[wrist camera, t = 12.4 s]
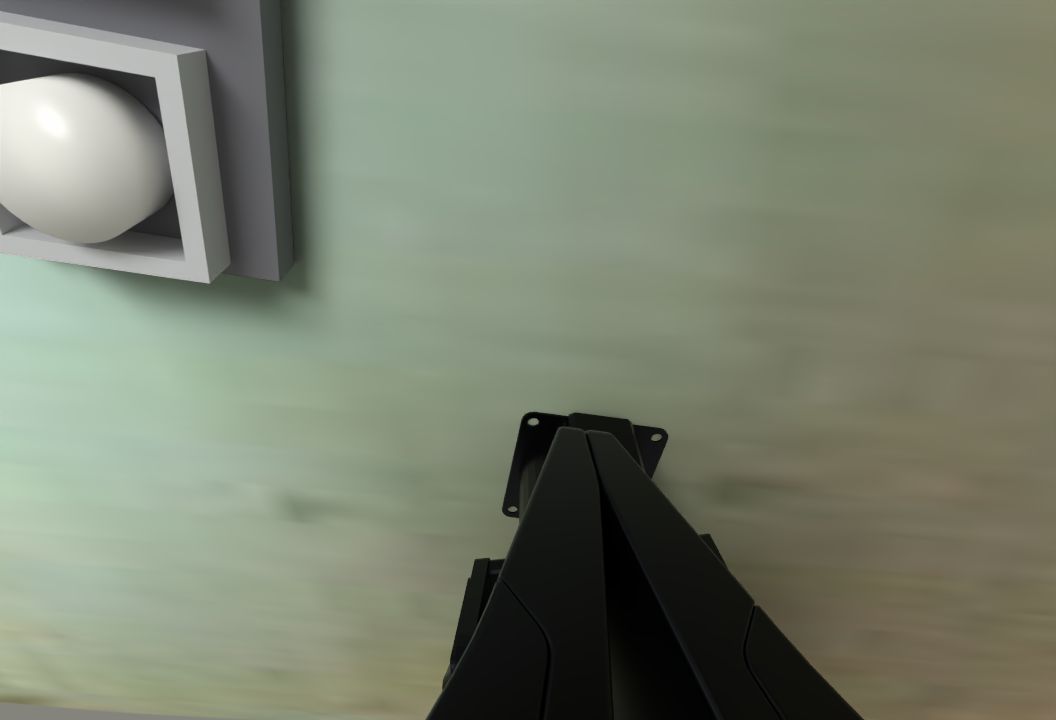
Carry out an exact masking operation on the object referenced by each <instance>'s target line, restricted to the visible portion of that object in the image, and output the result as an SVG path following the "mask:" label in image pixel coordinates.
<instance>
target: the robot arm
mask: <svg viewBox="0 0 1056 720" xmlns="http://www.w3.org/2000/svg"><path fill="white" fill-rule="evenodd" d="M530 418H536V419H538V420H539V423H538V424H537V425H534V426H532V425H529V424H528V423H527V421H528V419H530ZM654 434H661V435H662V438H661V439H660V440H658V441H653V440H651V437H652V435H654ZM667 440H668V435H667V432H666V431H665V430H664V429H661V428H655V427H647V426H640V425H632V423H631V422H630V421H629V420H628V419H621V418H613V417H605V416H598V415H590V414H582V413H571V414H570V415H569V416H562V415H555V414H547V413H539V412H529V413H527V414H525V415H524V416H523V418H522V420H521V424H520V429H519V433H518V438H517V443H516V447H515V452H514V456H513V461H512V465H511V470H510V474H509V479H508V483H507V488H506V493H505V497H504V502H503V506H502V512H503V513H504V514H505V515H506V516H509V517H515V518H519V527H518V529H517V532H516V534H515V537H514V539H513V542H512V544H511V547H510V549H509V552H508V554H507V556H506V559H497V560H490V558H482V559H475V561H474V566H473V570H472V575H471V578H469V579H468V582H467V586H466V591H465V595H464V600H463V604H462V609H461V613H460V618H459V622H458V626H457V631H456V635H455V640H454V644H453V649H452V653H451V658H450V665H449V667H448V669H447V672H446V674H445V676H444V679H443V686H442V689H443V691H442V693H441V694H440V696H439V698H438V699H437V701H436V703H435V704H434V706H433V708H432V710H431V711H430V713H429V715H428V716H427V718H426V720H864V719H863V718H862V717H861V716H860V715H859V714H858V713H857V712H856V711H855V710H854V709H853V708H852V707H851V706H850V705H849V704H848V703H847V702H846V701H845V700H844V699H843V698H842V697H841V696H840V695H839V694H838V693H837V691H836V690H835V689H834V688H833V687H832V686H831V685H830V684H829V683H828V682H827V681H826V680H825V679H824V678H823V677H822V676H821V675H820V674H819V673H818V672H817V671H816V670H815V669H814V667H813V666H812V665H811V664H810V663H809V662H808V661H807V660H806V659H805V658H804V656H803V655H802V654H801V653H800V652H799V651H798V650H797V649H796V647H795V646H794V645H793V644H792V643H791V642H790V641H789V640H788V638H787V637H786V636H785V635H784V634H783V633H782V632H781V631H780V630H779V628H778V627H777V626H776V625H775V624H774V623H773V621H772V620H771V619H770V618H769V617H768V615H767V614H766V613H765V612H764V611H763V610H762V608H761V607H760V606H758V605H756V606H754V605H755V601H754V599H753V598H752V597H751V596H750V595H749V594H748V592H747V591H746V590H745V589H744V588H743V587H742V585H741V584H740V583H739V582H738V581H737V580H736V578H735V577H734V576H733V575H732V574H731V572H730V571H729V570H728V568H727V566H726V564H725V562H724V560H723V559H722V557H721V555H720V553H719V551H718V549H717V547H716V545H715V543H714V541H713V539H712V538H711V536H710V534H702V535H698V534H697V533H696V532H695V530H694V529H693V528H692V527H691V526H690V524H689V523H688V522H687V521H686V520H685V519H684V517H683V516H682V515H681V514H680V513H679V512H678V510H677V509H676V508H675V507H674V506H673V505H672V503H671V502H670V501H669V500H668V499H667V498H666V496H665V495H664V494H663V493H662V492H661V491H660V489H659V488H658V487H657V486H656V485H655V484H654V482H653V481H652V480H651V478H652V476H653V474H654V471H655V469H656V466H657V464H658V461H659V459H660V457H661V454H662V452H663V449H664V447H665V444H666V442H667ZM511 506H514V507H516V508H517V509H518V510H517V511H515V512H509V511H508V510H507V509H508V508H509V507H511Z"/></svg>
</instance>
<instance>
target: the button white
mask: <svg viewBox="0 0 1056 720" xmlns="http://www.w3.org/2000/svg"><path fill="white" fill-rule="evenodd" d="M173 192H174V188H173V182H172V176H171V170H170V164H169V158H168V152H167V146H166V140H165V134H164V130H163V129H162V127H161V125H160V124H159V123H158V121H157V120H156V119H155V117H154V116H153V115H152V114H151V113H150V112H149V111H148V109H147V108H146V107H145V106H144V105H142V104H141V103H140V102H139V101H138V100H137V99H136V98H135V97H133V96H132V95H131V94H129V93H128V92H127V91H125V90H123V89H122V88H120V87H118V86H117V85H115V84H113V83H111V82H109V81H107V80H104V79H101V78H99V77H96V76H92V75H88V74H83V73H61V74H56V75H50V76H45V77H39V78H34V79H28V80H23V81H17V82H12V83H6V84H1V85H0V203H1V204H2V205H3V206H4V207H5V208H7V209H8V210H9V211H10V212H11V213H12V214H14V215H15V216H16V217H18V218H19V219H20V220H22V221H23V222H25V223H27V224H28V225H30V226H31V227H33V228H35V229H37V230H39V231H41V232H43V233H45V234H48V235H50V236H52V237H55V238H59V239H62V240H65V241H70V242H76V243H97V242H103V241H106V240H110V239H112V238H114V237H116V236H118V235H120V234H121V233H123V232H125V231H126V230H128V229H129V228H131V227H133V226H134V225H136V224H138V223H139V222H141V221H143V220H144V219H146V218H147V217H149V216H151V215H152V214H154V213H156V212H157V211H159V210H160V209H161V208H162V207H164V206H165V204H166V203H167V202H168V201H169V199H170V198H171V196H172V194H173Z"/></svg>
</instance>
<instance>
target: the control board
mask: <svg viewBox="0 0 1056 720" xmlns="http://www.w3.org/2000/svg"><path fill="white" fill-rule="evenodd" d="M61 73H83V74H88V75H92V76H96V77H99V78H101V79H104V80H107V81H109V82H111V83H113V84H115V85H117V86H118V87H120V88H122V89H123V90H125V91H127V92H128V93H129V94H131V95H132V96H133V97H135V98H136V99H137V100H138V101H139V102H140V103H141V104H142V105H144V106H145V107H146V108H147V109H148V111H149V112H150V113H151V114H152V115H153V116H154V117H155V119H156V120H157V121H158V123H159V124H160V125H161V127H162V129H163V130H164V134H165V140H166V146H167V152H168V158H169V164H170V170H171V176H172V182H173V188H174V192H173V194H172V196H171V198H170V199H169V201H168V202H167V203H166V204H165V206H164V207H162V208H161V209H160V210H159V211H157V212H156V213H154V214H152V215H151V216H149V217H147V218H146V219H144V220H143V221H141V222H139V223H138V224H136V225H134V226H133V227H131V228H129V229H128V230H126V231H125V232H123V233H121V234H120V235H118V236H116V237H114V238H112V239H110V240H106V241H103V242H97V243H76V242H70V241H65V240H62V239H59V238H55V237H52V236H50V235H48V234H45V233H43V232H41V231H39V230H37V229H35V228H33V227H31V226H30V225H28V224H27V223H25V222H23V221H22V220H20V219H19V218H18V217H16V216H15V215H14V214H12V213H11V212H10V211H9V210H8V209H7V208H5V207H4V206H3V205H2V204H1V203H0V253H2V254H9V255H16V256H23V257H30V258H37V259H44V260H50V261H57V262H64V263H71V264H78V265H85V266H92V267H99V268H105V269H112V270H119V271H126V272H133V273H140V274H147V275H153V276H160V277H167V278H174V279H181V280H188V281H195V282H202V283H208V284H210V283H211V282H212V281H213V280H214V279H215V278H216V277H217V276H218V275H219V274H220V273H224V274H231V275H237V276H244V277H251V278H258V279H264V280H271V281H278V282H279V281H280V280H281V279H282V278H283V277H284V275H285V274H286V273H287V272H288V270H289V269H290V268H291V267H292V265H293V264H294V249H293V231H292V212H291V193H290V175H289V156H288V137H287V119H286V100H285V81H284V62H283V44H282V25H281V6H280V0H0V85H1V84H6V83H12V82H17V81H23V80H28V79H34V78H39V77H45V76H50V75H56V74H61Z"/></svg>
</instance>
